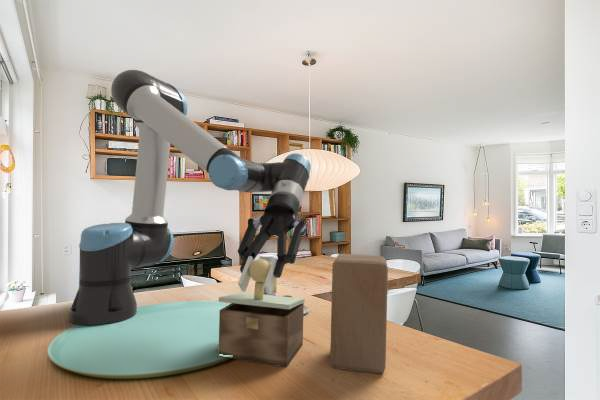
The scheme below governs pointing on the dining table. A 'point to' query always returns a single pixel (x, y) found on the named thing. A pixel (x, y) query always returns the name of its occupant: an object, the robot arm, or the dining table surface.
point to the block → (359, 313)
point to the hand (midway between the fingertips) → (254, 288)
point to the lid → (261, 291)
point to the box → (261, 333)
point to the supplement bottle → (269, 259)
